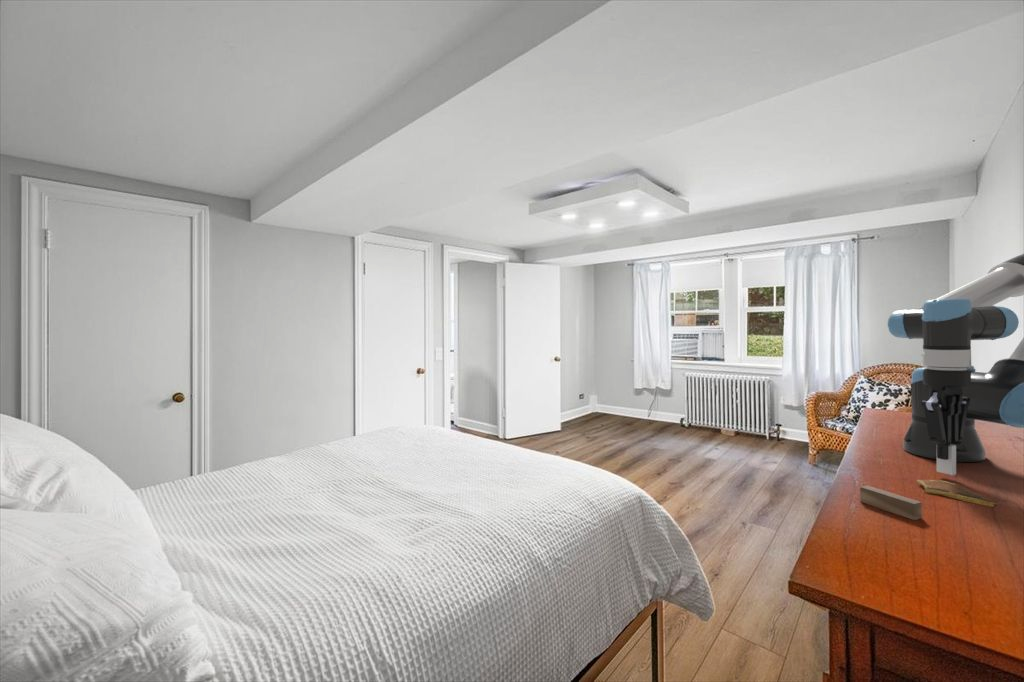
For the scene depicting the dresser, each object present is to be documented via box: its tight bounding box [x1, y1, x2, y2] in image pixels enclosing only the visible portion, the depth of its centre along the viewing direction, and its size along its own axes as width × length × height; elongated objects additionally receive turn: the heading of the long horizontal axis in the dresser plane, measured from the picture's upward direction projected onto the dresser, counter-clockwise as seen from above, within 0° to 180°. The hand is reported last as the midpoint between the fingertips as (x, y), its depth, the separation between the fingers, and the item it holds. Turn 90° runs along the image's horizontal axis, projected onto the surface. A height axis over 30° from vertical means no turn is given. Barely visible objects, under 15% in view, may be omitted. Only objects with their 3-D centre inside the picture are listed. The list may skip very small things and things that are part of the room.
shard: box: [916, 479, 997, 508], centre depth 87 cm, size 11×8×2 cm
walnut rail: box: [859, 485, 923, 521], centre depth 82 cm, size 2×9×3 cm, turn 19°
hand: (946, 472), depth 96 cm, fingers closed
